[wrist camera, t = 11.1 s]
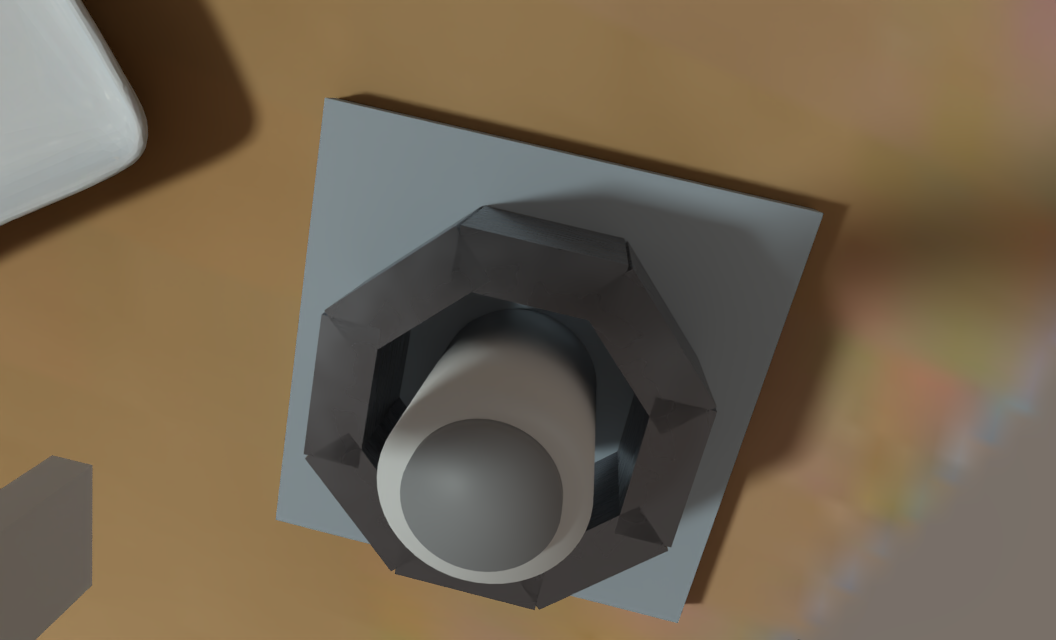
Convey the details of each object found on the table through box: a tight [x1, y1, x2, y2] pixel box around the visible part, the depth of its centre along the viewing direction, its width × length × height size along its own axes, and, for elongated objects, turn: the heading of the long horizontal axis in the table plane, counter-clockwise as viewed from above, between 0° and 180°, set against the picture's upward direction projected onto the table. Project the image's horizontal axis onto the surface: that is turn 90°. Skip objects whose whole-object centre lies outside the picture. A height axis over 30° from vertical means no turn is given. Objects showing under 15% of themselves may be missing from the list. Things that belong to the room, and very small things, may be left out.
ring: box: [304, 205, 717, 610], centre depth 22 cm, size 12×12×4 cm
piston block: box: [276, 98, 824, 623], centre depth 21 cm, size 16×16×8 cm
